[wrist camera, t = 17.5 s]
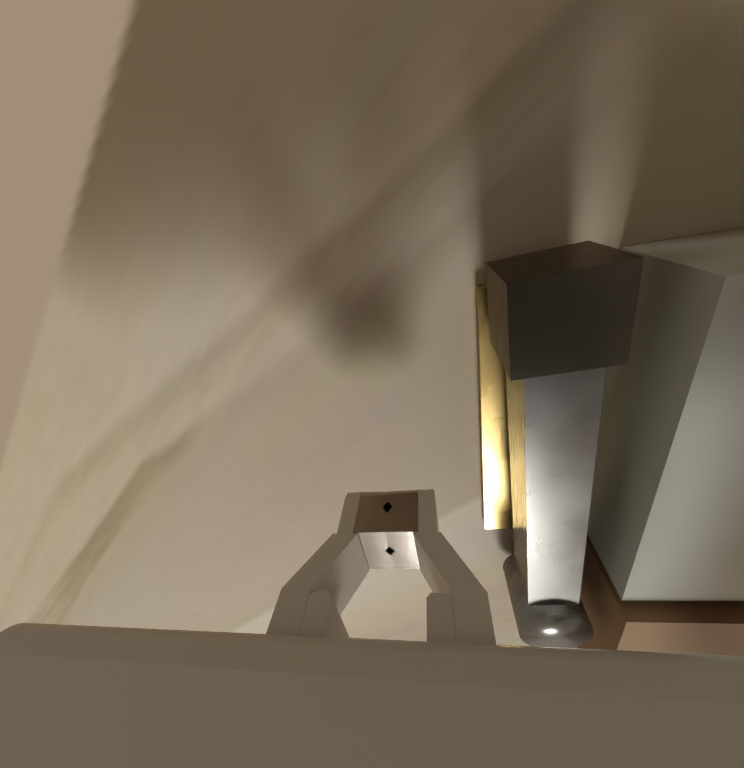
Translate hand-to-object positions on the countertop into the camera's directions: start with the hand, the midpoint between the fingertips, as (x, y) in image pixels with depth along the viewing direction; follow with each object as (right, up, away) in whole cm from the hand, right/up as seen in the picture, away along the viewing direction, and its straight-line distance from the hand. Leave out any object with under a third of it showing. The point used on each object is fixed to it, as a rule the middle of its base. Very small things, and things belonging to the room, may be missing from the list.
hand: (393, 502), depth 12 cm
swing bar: (+6, +1, +2) cm, 6 cm away
